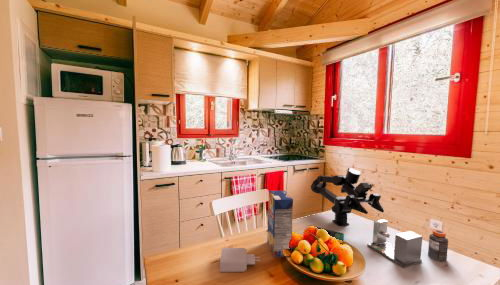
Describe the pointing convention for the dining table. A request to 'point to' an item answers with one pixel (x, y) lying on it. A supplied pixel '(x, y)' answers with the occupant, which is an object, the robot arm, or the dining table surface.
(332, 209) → the robot arm
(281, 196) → the juice carton
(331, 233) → the digital multimeter
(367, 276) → the dining table surface
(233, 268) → the charger
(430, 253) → the pill bottle
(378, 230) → the white upright block
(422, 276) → the dining table surface
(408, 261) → the base
